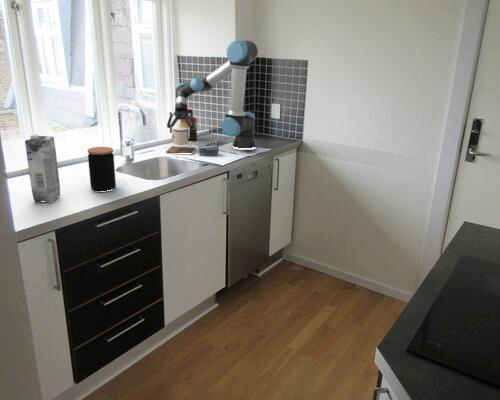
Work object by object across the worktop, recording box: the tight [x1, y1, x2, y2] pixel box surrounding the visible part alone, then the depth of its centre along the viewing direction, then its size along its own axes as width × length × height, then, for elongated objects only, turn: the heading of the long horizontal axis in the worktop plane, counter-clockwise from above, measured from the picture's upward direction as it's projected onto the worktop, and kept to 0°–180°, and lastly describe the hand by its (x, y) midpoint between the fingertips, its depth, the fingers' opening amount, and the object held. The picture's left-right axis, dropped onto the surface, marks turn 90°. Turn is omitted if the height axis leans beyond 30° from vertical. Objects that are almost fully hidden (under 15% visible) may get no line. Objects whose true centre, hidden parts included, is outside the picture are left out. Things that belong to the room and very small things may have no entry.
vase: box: [180, 108, 198, 142], centre depth 291 cm, size 11×11×20 cm
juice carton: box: [24, 133, 61, 203], centre depth 176 cm, size 9×10×27 cm
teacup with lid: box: [170, 123, 189, 146], centre depth 261 cm, size 12×9×12 cm
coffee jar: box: [87, 146, 117, 192], centre depth 192 cm, size 11×11×18 cm
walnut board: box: [166, 145, 196, 154], centre depth 264 cm, size 15×14×1 cm
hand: (180, 137), depth 259 cm, fingers closed on teacup with lid, 9 cm apart
